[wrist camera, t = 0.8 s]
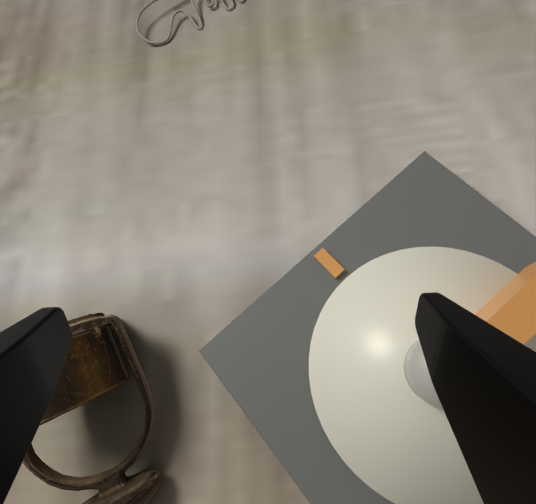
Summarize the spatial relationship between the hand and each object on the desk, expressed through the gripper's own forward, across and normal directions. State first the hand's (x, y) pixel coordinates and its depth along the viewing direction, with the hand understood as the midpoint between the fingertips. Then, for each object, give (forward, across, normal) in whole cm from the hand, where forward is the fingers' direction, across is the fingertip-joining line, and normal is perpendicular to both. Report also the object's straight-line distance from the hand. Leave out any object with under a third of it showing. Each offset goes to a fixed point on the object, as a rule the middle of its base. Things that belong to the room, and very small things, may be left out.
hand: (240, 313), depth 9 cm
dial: (+7, -10, +11) cm, 16 cm away
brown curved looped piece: (+9, +11, +16) cm, 22 cm away
